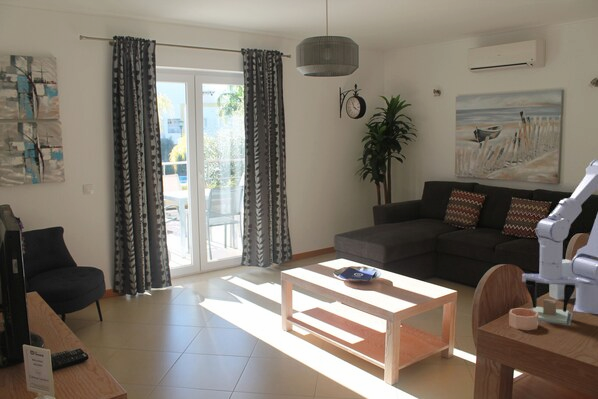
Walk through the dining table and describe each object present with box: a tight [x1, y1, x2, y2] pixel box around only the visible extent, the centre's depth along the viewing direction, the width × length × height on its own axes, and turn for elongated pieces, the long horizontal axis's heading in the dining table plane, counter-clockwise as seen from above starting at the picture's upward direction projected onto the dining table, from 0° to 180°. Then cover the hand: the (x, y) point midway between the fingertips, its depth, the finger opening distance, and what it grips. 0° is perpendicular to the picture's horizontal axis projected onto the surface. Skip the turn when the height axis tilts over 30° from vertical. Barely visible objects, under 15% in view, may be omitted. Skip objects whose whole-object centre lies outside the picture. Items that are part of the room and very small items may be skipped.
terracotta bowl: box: [508, 307, 539, 331], centre depth 142 cm, size 7×7×4 cm
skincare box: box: [548, 258, 576, 301], centre depth 163 cm, size 6×4×12 cm
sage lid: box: [533, 298, 570, 324], centre depth 148 cm, size 9×9×4 cm
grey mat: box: [530, 306, 574, 327], centre depth 148 cm, size 11×11×1 cm
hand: (549, 308), depth 148 cm, fingers open, 7 cm apart
